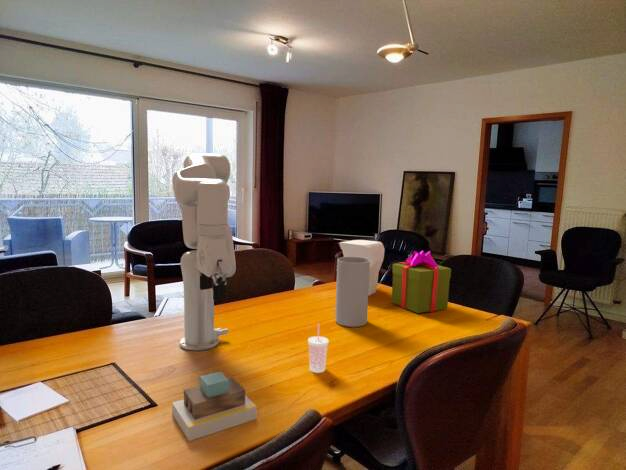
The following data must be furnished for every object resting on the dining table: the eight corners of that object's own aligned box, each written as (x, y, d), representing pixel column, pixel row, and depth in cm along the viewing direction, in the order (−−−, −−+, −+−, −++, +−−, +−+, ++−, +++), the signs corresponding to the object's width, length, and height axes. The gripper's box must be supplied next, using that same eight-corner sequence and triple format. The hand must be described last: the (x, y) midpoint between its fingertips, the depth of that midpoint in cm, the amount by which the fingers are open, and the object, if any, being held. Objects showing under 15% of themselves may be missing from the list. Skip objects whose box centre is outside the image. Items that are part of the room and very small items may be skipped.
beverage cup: (320, 375, 122) (322, 328, 120) (303, 370, 125) (304, 324, 123) (331, 368, 127) (333, 322, 125) (314, 362, 130) (315, 318, 128)
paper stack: (329, 293, 209) (331, 241, 205) (364, 284, 227) (366, 237, 224) (363, 303, 194) (366, 247, 190) (397, 292, 213) (400, 242, 209)
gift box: (414, 297, 205) (417, 245, 202) (452, 308, 189) (456, 252, 186) (385, 304, 192) (388, 249, 189) (424, 317, 176) (428, 257, 173)
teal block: (220, 383, 102) (220, 371, 102) (228, 392, 98) (228, 379, 98) (200, 388, 99) (200, 376, 99) (207, 398, 95) (207, 385, 95)
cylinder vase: (330, 324, 164) (332, 261, 161) (340, 315, 176) (343, 255, 172) (362, 329, 159) (365, 264, 156) (370, 319, 171) (373, 258, 168)
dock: (235, 396, 109) (235, 384, 109) (256, 418, 99) (256, 406, 99) (172, 414, 100) (172, 402, 100) (189, 441, 90) (188, 427, 90)
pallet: (232, 390, 106) (232, 377, 105) (245, 404, 100) (245, 390, 99) (183, 404, 99) (183, 389, 99) (194, 419, 93) (194, 404, 92)
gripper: (187, 225, 113) (187, 287, 117) (210, 237, 99) (210, 306, 103) (214, 224, 118) (213, 283, 121) (240, 235, 104) (239, 302, 107)
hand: (212, 294), depth 112 cm, fingers open, 9 cm apart
